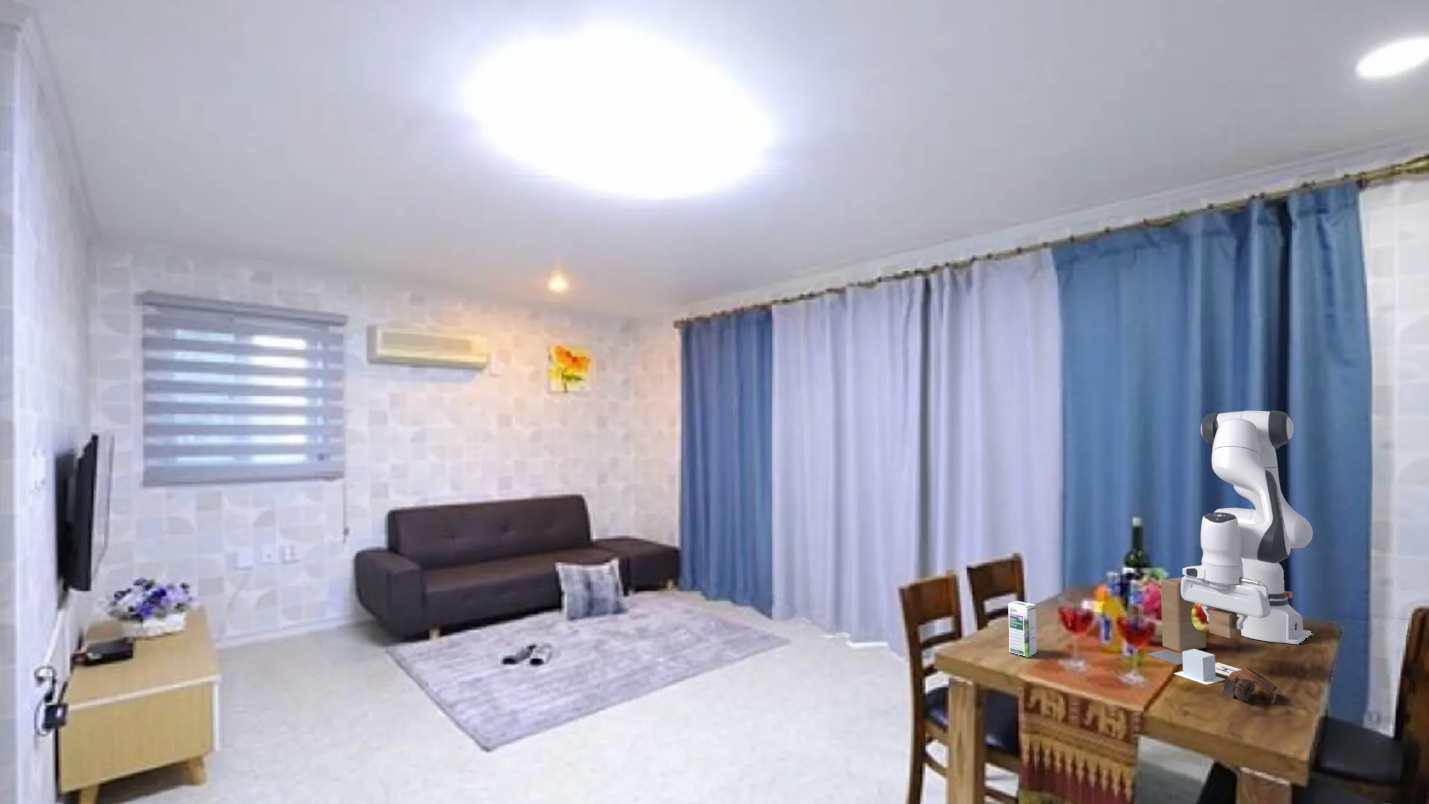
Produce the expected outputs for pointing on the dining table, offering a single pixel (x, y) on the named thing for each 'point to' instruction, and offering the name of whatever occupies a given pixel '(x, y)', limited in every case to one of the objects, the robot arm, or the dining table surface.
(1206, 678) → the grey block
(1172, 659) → the slate coaster
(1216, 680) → the code tile
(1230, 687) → the camera in leather case
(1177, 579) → the decorative block
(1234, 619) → the walnut block
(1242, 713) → the dining table surface
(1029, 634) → the syrup box
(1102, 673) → the dining table surface
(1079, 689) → the dining table surface
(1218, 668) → the code tile
